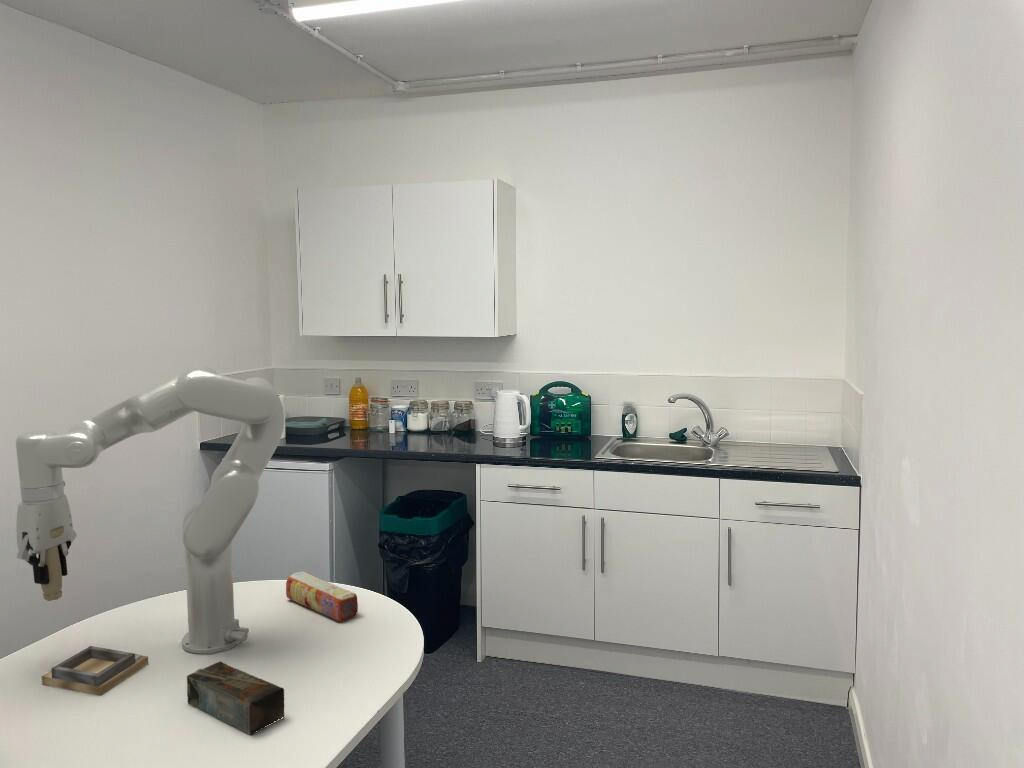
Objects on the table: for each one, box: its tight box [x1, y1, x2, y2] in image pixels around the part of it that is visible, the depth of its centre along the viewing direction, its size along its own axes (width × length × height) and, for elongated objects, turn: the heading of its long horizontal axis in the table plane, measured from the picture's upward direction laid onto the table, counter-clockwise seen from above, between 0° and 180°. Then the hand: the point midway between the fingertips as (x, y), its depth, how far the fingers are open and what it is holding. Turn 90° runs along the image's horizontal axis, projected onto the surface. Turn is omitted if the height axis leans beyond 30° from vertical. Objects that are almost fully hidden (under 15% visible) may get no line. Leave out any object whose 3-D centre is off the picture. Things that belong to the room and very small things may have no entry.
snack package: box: [285, 571, 359, 623], centre depth 199 cm, size 21×7×7 cm, turn 50°
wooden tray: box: [41, 645, 149, 696], centre depth 166 cm, size 14×13×4 cm
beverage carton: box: [186, 661, 285, 735], centre depth 153 cm, size 8×19×7 cm, turn 55°
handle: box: [40, 526, 64, 602], centre depth 168 cm, size 5×6×15 cm
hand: (51, 578), depth 169 cm, fingers closed on handle, 3 cm apart
